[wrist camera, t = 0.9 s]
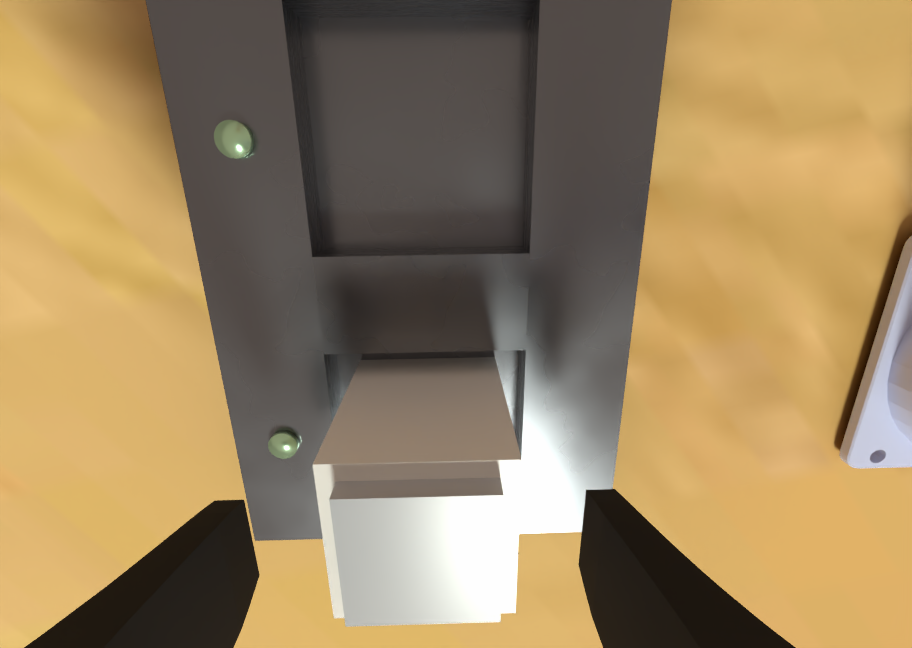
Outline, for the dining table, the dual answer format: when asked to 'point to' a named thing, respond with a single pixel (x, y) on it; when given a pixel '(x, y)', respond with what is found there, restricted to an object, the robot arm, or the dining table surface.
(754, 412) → the dining table surface
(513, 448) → the beige rectangular block
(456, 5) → the panel
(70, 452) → the dining table surface
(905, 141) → the dining table surface
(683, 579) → the robot arm
